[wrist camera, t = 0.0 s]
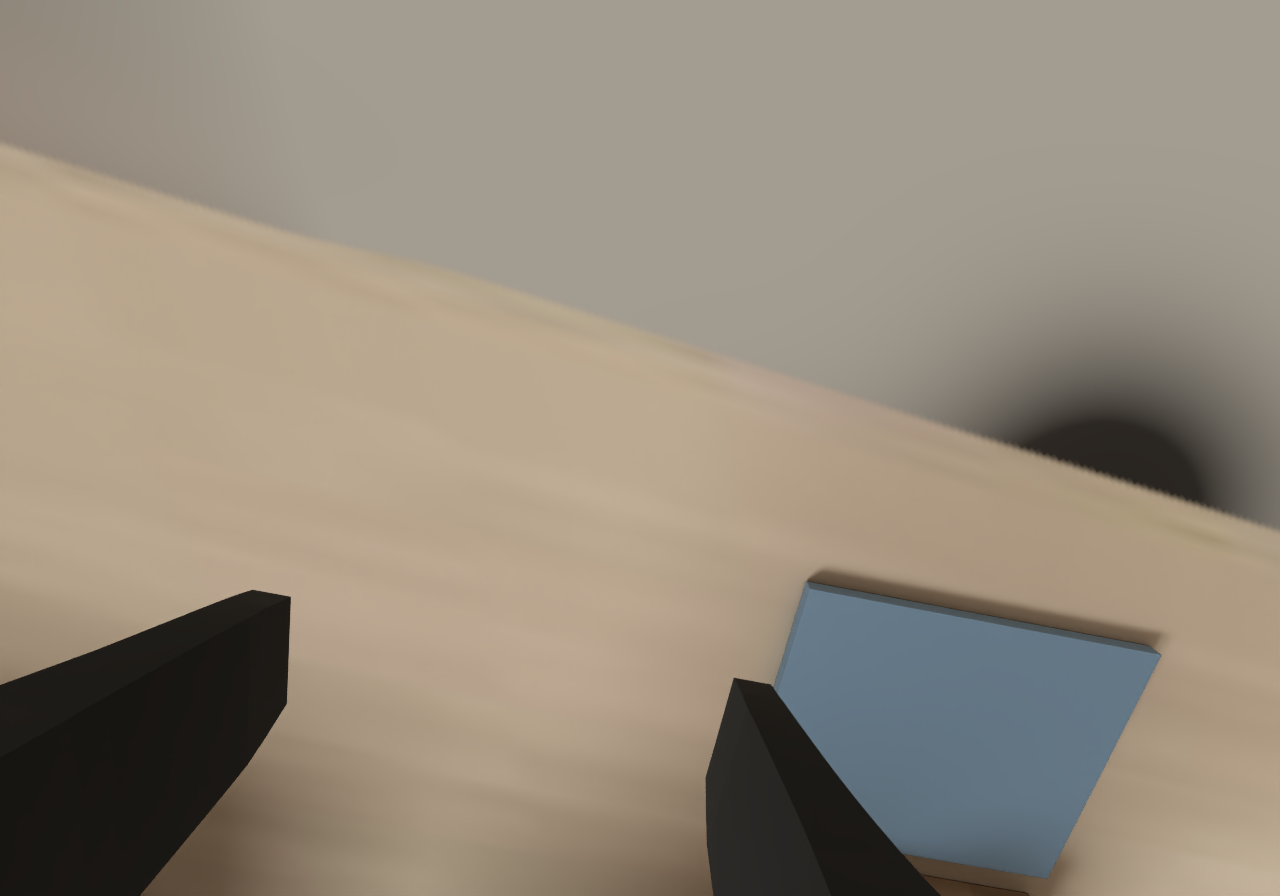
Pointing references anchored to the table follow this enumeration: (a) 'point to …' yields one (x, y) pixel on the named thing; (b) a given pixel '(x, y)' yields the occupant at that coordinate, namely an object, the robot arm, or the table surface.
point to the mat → (959, 721)
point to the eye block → (967, 888)
